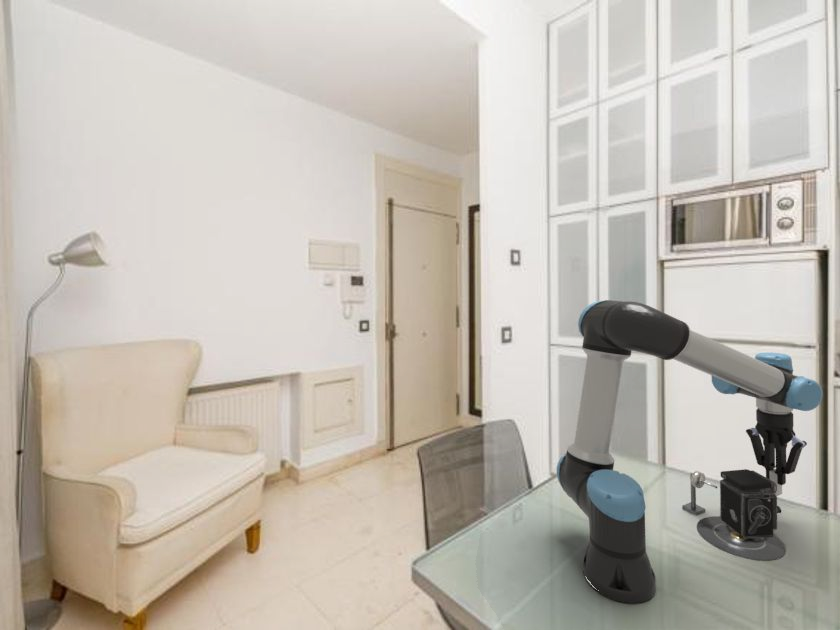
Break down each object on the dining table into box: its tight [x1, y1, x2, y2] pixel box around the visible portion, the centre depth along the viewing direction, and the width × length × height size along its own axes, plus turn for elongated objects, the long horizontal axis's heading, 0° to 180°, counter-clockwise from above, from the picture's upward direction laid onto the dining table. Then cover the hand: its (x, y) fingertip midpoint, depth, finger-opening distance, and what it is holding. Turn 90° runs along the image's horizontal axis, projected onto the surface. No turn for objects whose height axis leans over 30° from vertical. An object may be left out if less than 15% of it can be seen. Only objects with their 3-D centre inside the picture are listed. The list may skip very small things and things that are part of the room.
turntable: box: [696, 515, 786, 562], centre depth 103 cm, size 18×18×1 cm
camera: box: [719, 468, 782, 539], centre depth 105 cm, size 10×10×15 cm
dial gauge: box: [681, 470, 718, 516], centre depth 114 cm, size 4×8×12 cm, turn 21°
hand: (776, 493), depth 109 cm, fingers closed
